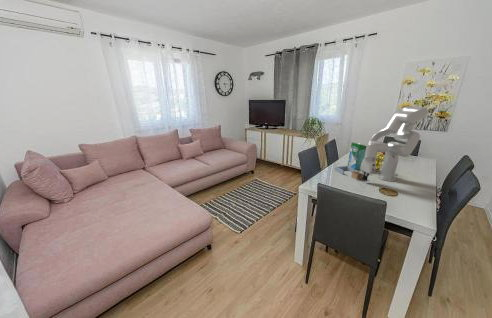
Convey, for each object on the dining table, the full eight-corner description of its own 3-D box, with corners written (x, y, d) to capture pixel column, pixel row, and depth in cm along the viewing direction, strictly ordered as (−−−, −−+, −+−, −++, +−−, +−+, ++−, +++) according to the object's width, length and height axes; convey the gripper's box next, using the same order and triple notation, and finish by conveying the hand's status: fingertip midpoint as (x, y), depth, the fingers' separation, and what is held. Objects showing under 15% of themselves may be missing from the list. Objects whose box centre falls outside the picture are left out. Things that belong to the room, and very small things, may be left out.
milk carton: (362, 168, 187) (367, 143, 179) (355, 170, 184) (360, 144, 176) (354, 165, 195) (358, 141, 187) (347, 167, 192) (351, 142, 183)
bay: (346, 169, 186) (347, 165, 185) (354, 173, 177) (355, 169, 176) (334, 170, 183) (335, 166, 182) (342, 174, 174) (343, 170, 173)
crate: (356, 176, 171) (358, 171, 169) (362, 179, 165) (363, 173, 163) (351, 177, 169) (352, 171, 168) (356, 180, 164) (357, 174, 162)
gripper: (382, 161, 147) (376, 183, 152) (365, 155, 160) (361, 175, 166) (374, 161, 145) (368, 184, 151) (358, 155, 158) (353, 176, 164)
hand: (364, 179), depth 158 cm, fingers closed
